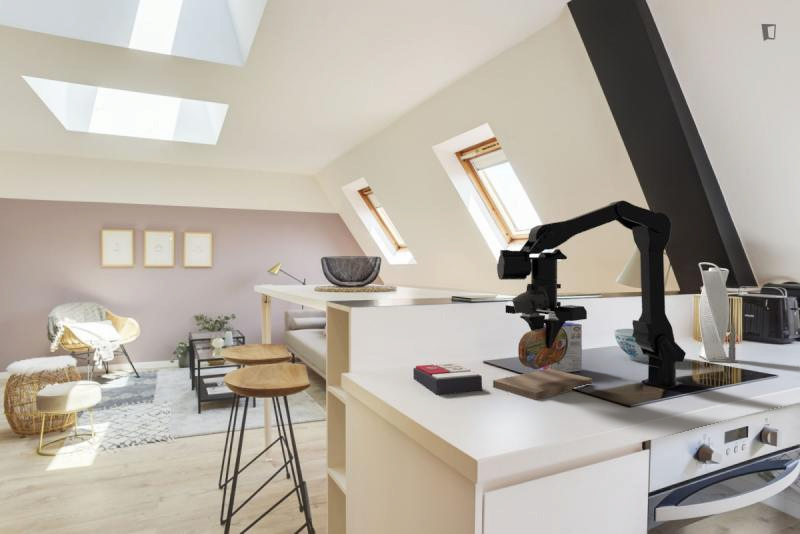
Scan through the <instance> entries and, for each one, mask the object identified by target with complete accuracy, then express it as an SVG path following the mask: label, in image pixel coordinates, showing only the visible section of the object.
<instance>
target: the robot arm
mask: <svg viewBox="0 0 800 534" xmlns="http://www.w3.org/2000/svg"><path fill="white" fill-rule="evenodd" d="M614 221H616V222H618V223H619V224H620V225H622V226H623V227H624V228H627V229H628V230H630V231H631V232H632V237H633V241H634V243H635V246H636V248H638V251H639V254H640V255H639V256H640V259H639V260H640V286H641V287H640V289H641V290H640V291H641V314H640V316H639V318H638V320H636V319H633V320H632V329H633V335H632V337H635V341H636V343H637V344H638V345H639V346H640V347H641V350H642V353H643V354H644V355H648V356H649V358H648V365H647V366H648V367H647V368H648V369H647V379H643V380H641V384H647V385H651V386H655V387H659V388H663V389H668V390H671V389H673V388H677V387H679V386H682V385H683V382H682V381H678V380H677V363H679V362H680V363H681V362H682V363H683V362H684V360H685V357H686V354H687V353H686V352H685V350H684V349H683V348H682V347H681V346H680V345H679V344H678V343H677V342H676V340H675V335H674V331H673V326H672V324H671V322H670V320H669V318H668V316H667V315H666V302H665V301H666V295H665V293H666V291H665V289H666V288H665V259H664V257H665V256H664V251H665V250H666V247H667V245H668V243H669V241H670V239H671V238H670V237H671V232H672V231H671V230H672V220H671V218H670V217H668V215H667V214H665V213H664V212H658V211H657V212H654V211H652V210H650V209H647V208H645V207H644V208H643V207H641V206H638V205H635V204H633V203H631V202H628V201H626V200H622V199H621V200H618V201H613V202H610V203H609V204H608V205H604V206H603V207H600V208H597V209H594V210H592V211H589V212H586V213H585V212H584V213H583V214H580V215H578V216H575V217H572V218H569V219H567V220H562V221H556V222H550V223H545V224H539V225H538V224H537V225H536V226H533V227H531V229H530V231H529V234H528V236H527V237H528V239H527V241H526V242H525V243H524V244H523V246H522V247H521V249H520V250H509V249H500V251H499V257H498V259H497V260H498V261H497V264H496V268H497V269H496V270H497V272H496V273H497V277H498V279H499V280H500V281H501V280H502V281H503V280H506V281H507V280H510V281H511V280H513V281H516V280H520V281H521V280H522V281H523V280H526V279H527V277H528V276H530V277H531V279H530V283H527V285H526V291H524V292H522V293H520V294H518V295H517V296H515V297H513V298H512V300H508V301H507V302H506V304H505V313H506V314H512V315H514V314H521V315H520V316H519V318H520V319H523V320H524V321H525V322H526V323H527V324H528V326H529V329H530V331H533V330H537V329H541V328H544V324H545V325H546V346H547V349H550V348H551V347H552V345H553V343H554V341H555V339H556V337H557V335H558V333H559V331H560V329H561V328H562V326H563V324H564V323H565V322H574V321H582V320H587V318H588V317H587V316H588V314H587V313H588V312H587V309H586V308H585V306H583V305H574V304H567V305H562V304H561V303H562V302H561V301H558V290H559V289H561V287H562V284H561V283H558V260H566V259H568V256H567V255H565V254H564V253H563V252H562V251H561V249H560V248H559V249H558V247H559V246H561V245H563V244H564V243H566V242H568V241H569V240H570V239H571V238H572V237H575V236H576V235H578V234H582V233H585V232H587V231H590V230H592V229H596V228H597V227H601V226H603V225H606V224H608V223H611V222H614ZM553 249H554V250H553ZM546 250H547V251H548V250H550V251H551V250H553V251H552V252H550V251H548V252H547V251H546ZM544 251H546V252H544ZM530 255H538V256H536V257H535V256H532V257H531V256H530ZM546 315H548V318H546Z"/></svg>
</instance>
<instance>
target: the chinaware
mask: <svg viewBox="0 0 800 534" xmlns="http://www.w3.org/2000/svg"><path fill="white" fill-rule="evenodd" d="M613 333H614V338H615V340H616V343H617V345H618V347H619V348H620V349H621V350H622V351H623V352H624V353H625V354H627V355H629V356H628V358H629V359H630V360H632V361H635V362H636V361H637V362H643V363H644V362H646V363H647V362H648V358H649V356H648V355H644V354H643V353H642V350H641V347H640V346H639V345H638V344H637V343H636V341H635V337H632V335H633V328H619V329H615V330H613Z"/></svg>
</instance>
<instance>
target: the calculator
mask: <svg viewBox="0 0 800 534" xmlns="http://www.w3.org/2000/svg"><path fill="white" fill-rule="evenodd" d="M412 369H413V371H412V372H413V380H414V381H416V382H418V384H420V385H422V386H424V387H425V388H427V389H429V391H430V392H431V393H433V394H434V395H435V396H444V395H454V394H466V393H475V392H483V378H482V377H483V376H482V375H480V374H479V373H477V372H475V371H471V369H470V368H467V367H464V366H461V365H458V364H456V363H452V362H450V363H440V364H437V363H436V364H423V365H415V367H414V368H412Z"/></svg>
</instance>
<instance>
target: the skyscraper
mask: <svg viewBox="0 0 800 534" xmlns="http://www.w3.org/2000/svg"><path fill="white" fill-rule="evenodd" d="M702 265H708V266H713V267H709V268H708V270H703V267H702ZM698 267H699V269H700V273H701V277H702V283H703V286H702V289H701V294H700V296H699V298H700V299H699V304H698V305H699V308H698V320H699V331H700V337H701V341H702V347H701V349H700V351H699V354H698V357H699V358H700V359H702V360H705V361H707V362H710V363H725V364H726V363H727V364H729V363H730V364H737V363H738V360H736V332H735V323H734V318H735V317H733V316H732V317H731V323H730V311H731V310H730V308H731V307H730V306H731V305H730V298H729V297H730V296H729V294H728V289H727V285H726V283H727V280H728V276H729V273H730V270H729V269H728V268H722V267H719V266H718V265H717V264H715V263H712V262H707V261H706V262H699V263H698ZM729 323H730V332H729V338H728V339H729V340H728V342H729V343H728V346H729V347H728V357H727V354H726V351H725V348H724V344H725V340H726V337H727V332H728V330H729V329H728V327H729Z"/></svg>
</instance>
